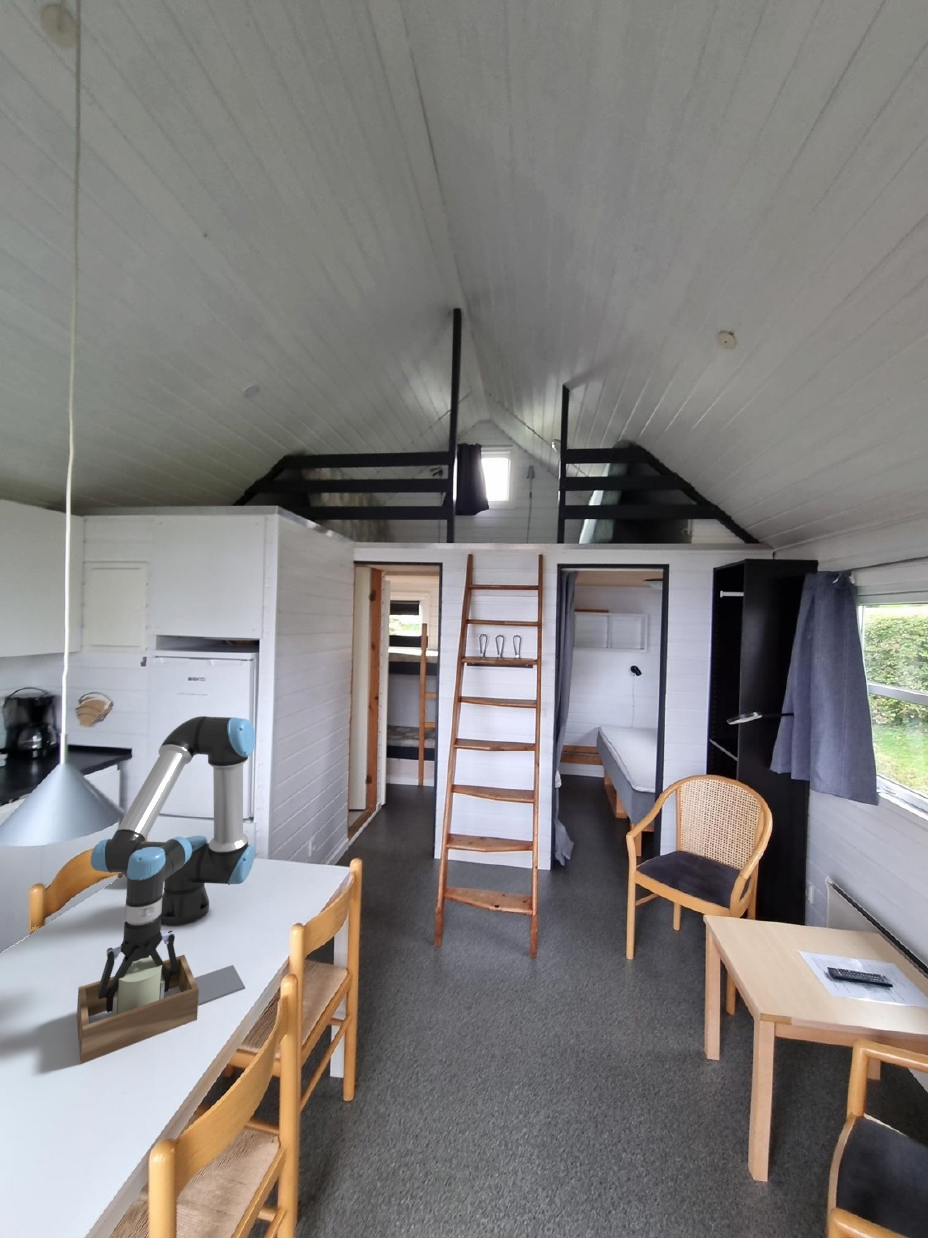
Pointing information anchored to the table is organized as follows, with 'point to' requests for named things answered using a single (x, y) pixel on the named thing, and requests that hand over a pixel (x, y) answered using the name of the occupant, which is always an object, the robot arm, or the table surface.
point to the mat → (218, 984)
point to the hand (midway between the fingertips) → (137, 1014)
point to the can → (139, 985)
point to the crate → (134, 1015)
